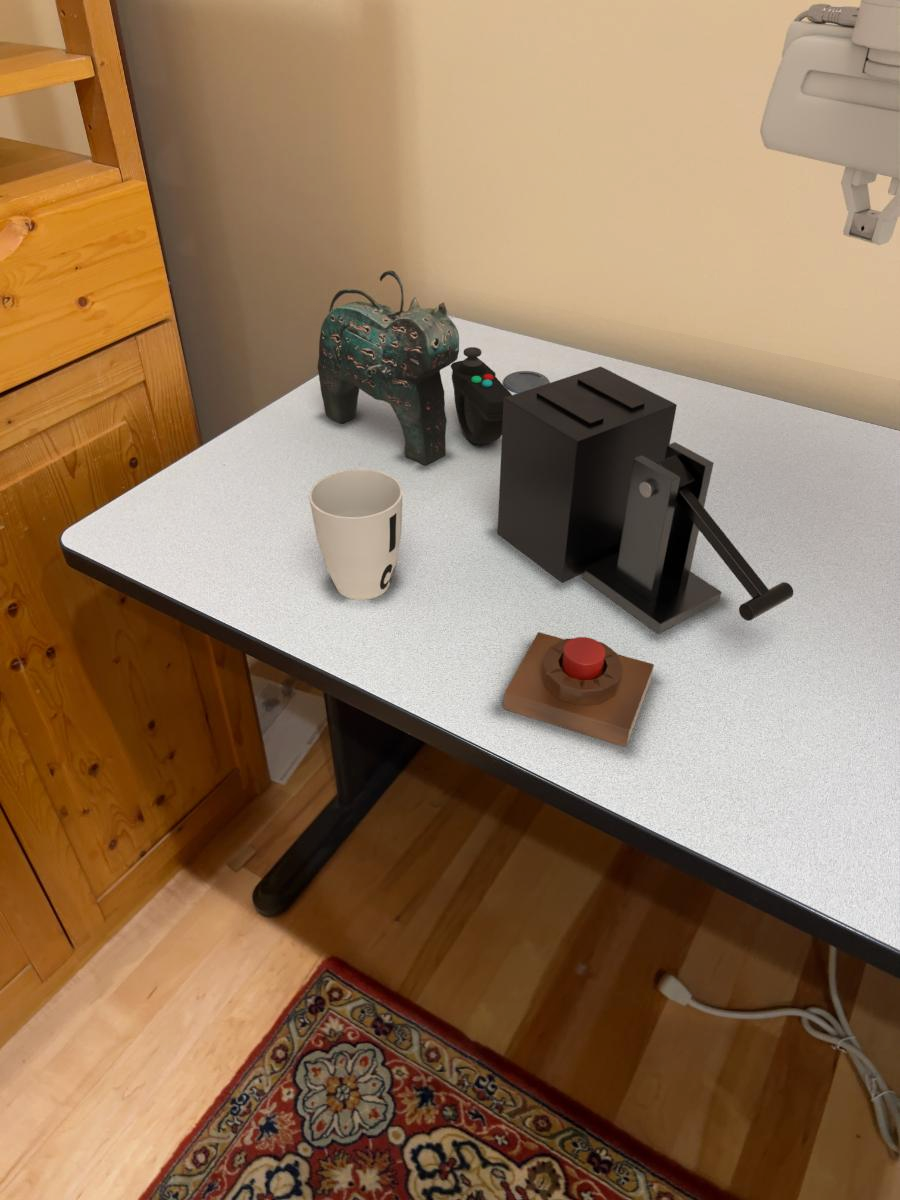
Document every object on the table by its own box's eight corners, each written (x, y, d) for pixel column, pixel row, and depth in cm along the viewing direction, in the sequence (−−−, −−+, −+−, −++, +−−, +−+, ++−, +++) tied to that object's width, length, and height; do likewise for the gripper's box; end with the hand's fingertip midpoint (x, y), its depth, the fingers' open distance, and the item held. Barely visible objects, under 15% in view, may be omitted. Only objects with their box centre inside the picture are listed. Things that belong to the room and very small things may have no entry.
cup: (402, 611, 80) (399, 519, 74) (313, 610, 80) (302, 517, 74) (408, 558, 86) (405, 469, 80) (325, 557, 86) (315, 468, 80)
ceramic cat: (462, 457, 102) (465, 283, 89) (423, 478, 98) (420, 300, 85) (348, 403, 112) (336, 240, 100) (308, 420, 108) (291, 254, 96)
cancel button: (607, 659, 70) (610, 643, 69) (596, 685, 68) (598, 668, 67) (569, 648, 71) (571, 632, 70) (556, 673, 69) (558, 657, 68)
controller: (478, 416, 110) (480, 338, 103) (519, 463, 101) (525, 381, 94) (445, 422, 108) (446, 343, 102) (485, 470, 99) (488, 387, 93)
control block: (650, 680, 73) (657, 649, 71) (626, 747, 67) (632, 715, 65) (536, 648, 76) (539, 617, 74) (503, 709, 70) (505, 677, 68)
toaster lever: (783, 604, 73) (800, 589, 71) (743, 626, 71) (759, 612, 69) (674, 466, 78) (687, 449, 76) (633, 483, 75) (645, 466, 73)
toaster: (652, 541, 89) (677, 401, 79) (562, 583, 83) (577, 438, 74) (585, 497, 95) (601, 363, 85) (497, 533, 90) (503, 394, 80)
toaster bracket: (719, 602, 81) (752, 471, 72) (658, 634, 78) (685, 501, 69) (641, 550, 87) (663, 424, 79) (581, 578, 84) (597, 449, 75)
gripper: (766, 3, 61) (726, 213, 70) (1071, 34, 48) (975, 286, 57) (821, -2, 64) (776, 200, 73) (1122, 27, 51) (1024, 267, 60)
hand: (865, 239), depth 65 cm, fingers closed
